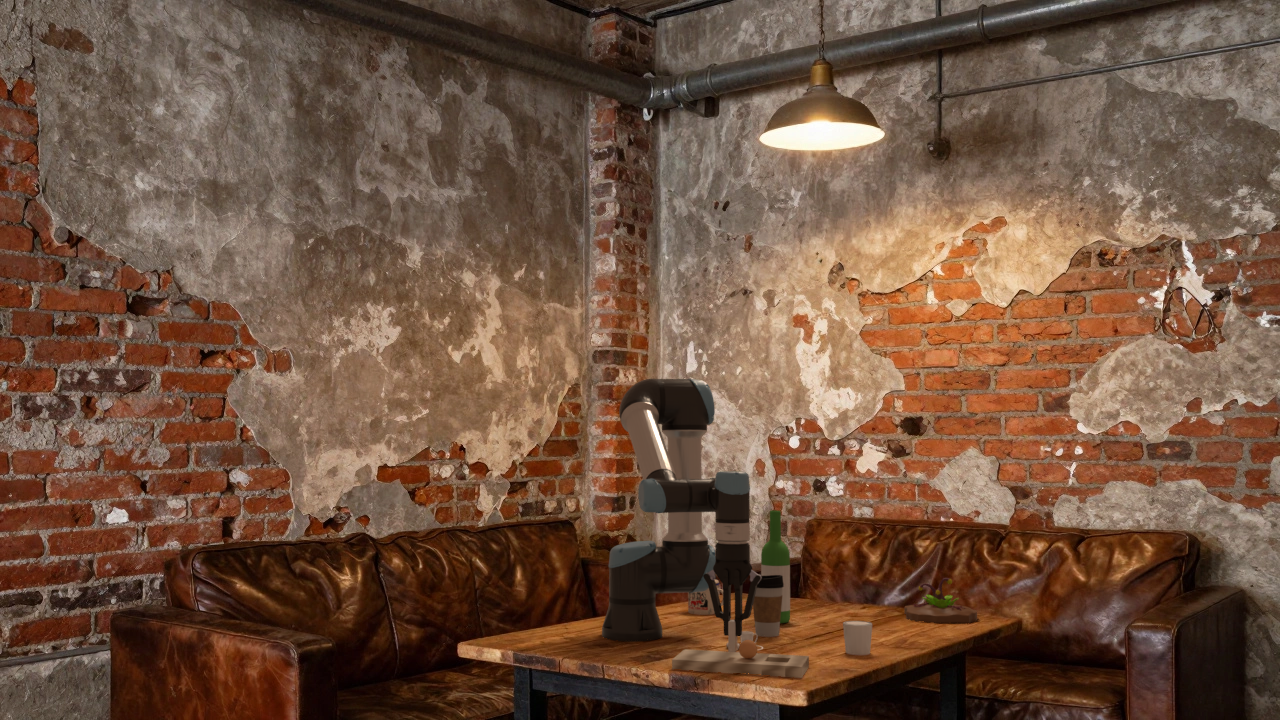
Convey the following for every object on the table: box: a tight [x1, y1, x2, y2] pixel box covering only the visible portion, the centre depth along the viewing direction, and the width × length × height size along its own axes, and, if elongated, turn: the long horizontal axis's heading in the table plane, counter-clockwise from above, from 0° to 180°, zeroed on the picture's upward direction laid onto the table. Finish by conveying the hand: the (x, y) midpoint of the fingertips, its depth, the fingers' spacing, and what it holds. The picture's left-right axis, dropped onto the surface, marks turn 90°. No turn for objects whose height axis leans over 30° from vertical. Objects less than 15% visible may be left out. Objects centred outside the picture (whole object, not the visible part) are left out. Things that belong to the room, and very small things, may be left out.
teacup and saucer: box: [726, 630, 764, 651], centre depth 276 cm, size 9×8×4 cm
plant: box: [903, 577, 978, 624], centre depth 324 cm, size 20×20×11 cm
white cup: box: [842, 620, 873, 656], centre depth 271 cm, size 7×7×7 cm
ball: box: [738, 640, 758, 659], centre depth 251 cm, size 4×4×4 cm
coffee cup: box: [752, 575, 784, 638], centre depth 294 cm, size 8×8×15 cm
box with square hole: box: [671, 648, 810, 679], centre depth 252 cm, size 28×12×2 cm, turn 75°
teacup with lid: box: [687, 579, 723, 616], centre depth 328 cm, size 12×9×12 cm
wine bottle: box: [760, 509, 791, 624], centre depth 315 cm, size 8×8×30 cm
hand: (732, 650), depth 252 cm, fingers closed
